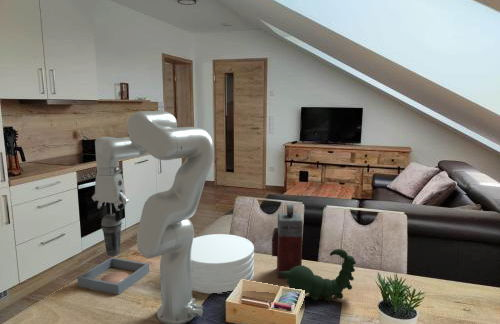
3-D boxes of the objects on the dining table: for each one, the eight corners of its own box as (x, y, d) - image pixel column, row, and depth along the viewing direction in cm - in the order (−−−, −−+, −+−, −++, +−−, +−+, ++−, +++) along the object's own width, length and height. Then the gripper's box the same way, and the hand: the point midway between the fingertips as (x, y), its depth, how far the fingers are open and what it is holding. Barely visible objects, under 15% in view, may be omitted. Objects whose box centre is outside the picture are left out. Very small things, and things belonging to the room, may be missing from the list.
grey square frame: (149, 272, 142) (149, 263, 142) (118, 294, 125) (118, 285, 125) (112, 265, 148) (111, 257, 147) (78, 286, 131) (77, 277, 131)
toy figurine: (345, 295, 129) (275, 287, 129) (353, 245, 125) (281, 237, 126) (351, 310, 119) (276, 302, 120) (360, 257, 116) (282, 248, 117)
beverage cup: (101, 258, 131) (98, 205, 127) (104, 250, 138) (100, 200, 134) (123, 256, 133) (119, 204, 129) (124, 248, 140) (121, 198, 136)
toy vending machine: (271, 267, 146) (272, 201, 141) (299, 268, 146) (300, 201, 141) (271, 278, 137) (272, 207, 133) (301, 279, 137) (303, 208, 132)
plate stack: (256, 261, 153) (256, 235, 151) (250, 296, 125) (250, 265, 123) (191, 258, 155) (191, 232, 154) (171, 291, 128) (170, 261, 126)
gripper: (134, 171, 131) (137, 218, 134) (96, 168, 136) (99, 213, 139) (121, 175, 124) (124, 225, 127) (81, 171, 129) (84, 219, 132)
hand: (111, 218), depth 133 cm, fingers closed on beverage cup, 6 cm apart
